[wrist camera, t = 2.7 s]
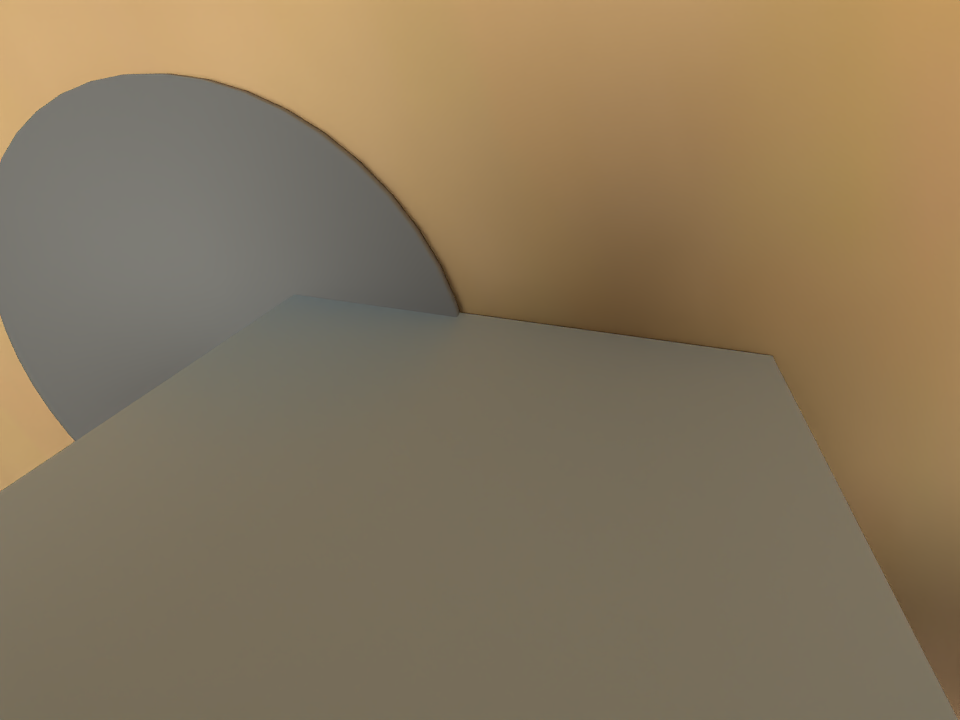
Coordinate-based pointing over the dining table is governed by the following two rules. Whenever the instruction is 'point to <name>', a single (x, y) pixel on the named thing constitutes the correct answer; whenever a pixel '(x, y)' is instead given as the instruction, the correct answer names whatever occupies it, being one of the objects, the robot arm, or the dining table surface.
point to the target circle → (182, 234)
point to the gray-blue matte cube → (449, 538)
